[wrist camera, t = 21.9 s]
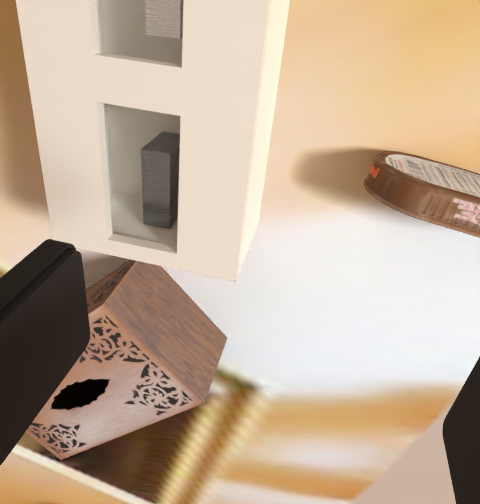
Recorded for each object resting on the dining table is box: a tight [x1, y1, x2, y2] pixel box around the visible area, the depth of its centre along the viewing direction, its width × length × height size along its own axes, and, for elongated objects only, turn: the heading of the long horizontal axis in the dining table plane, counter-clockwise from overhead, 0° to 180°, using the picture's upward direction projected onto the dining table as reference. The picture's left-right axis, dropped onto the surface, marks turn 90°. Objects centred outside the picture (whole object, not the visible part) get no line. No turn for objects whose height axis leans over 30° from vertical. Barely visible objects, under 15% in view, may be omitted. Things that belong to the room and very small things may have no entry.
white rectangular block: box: [16, 0, 290, 282], centre depth 33 cm, size 28×16×10 cm, turn 174°
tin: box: [364, 151, 480, 238], centre depth 34 cm, size 15×3×8 cm, turn 77°
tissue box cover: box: [25, 260, 227, 460], centre depth 52 cm, size 26×14×10 cm, turn 129°
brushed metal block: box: [141, 132, 180, 229], centre depth 39 cm, size 5×2×7 cm
